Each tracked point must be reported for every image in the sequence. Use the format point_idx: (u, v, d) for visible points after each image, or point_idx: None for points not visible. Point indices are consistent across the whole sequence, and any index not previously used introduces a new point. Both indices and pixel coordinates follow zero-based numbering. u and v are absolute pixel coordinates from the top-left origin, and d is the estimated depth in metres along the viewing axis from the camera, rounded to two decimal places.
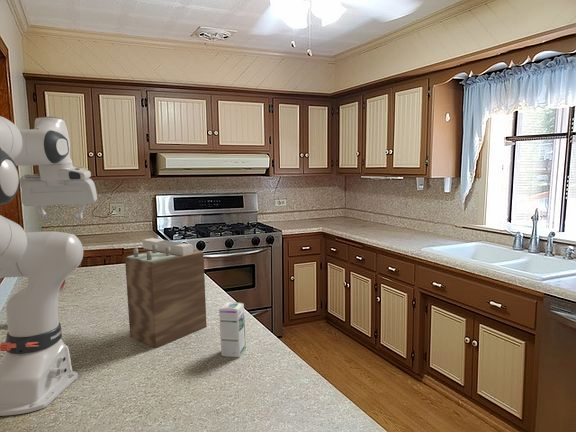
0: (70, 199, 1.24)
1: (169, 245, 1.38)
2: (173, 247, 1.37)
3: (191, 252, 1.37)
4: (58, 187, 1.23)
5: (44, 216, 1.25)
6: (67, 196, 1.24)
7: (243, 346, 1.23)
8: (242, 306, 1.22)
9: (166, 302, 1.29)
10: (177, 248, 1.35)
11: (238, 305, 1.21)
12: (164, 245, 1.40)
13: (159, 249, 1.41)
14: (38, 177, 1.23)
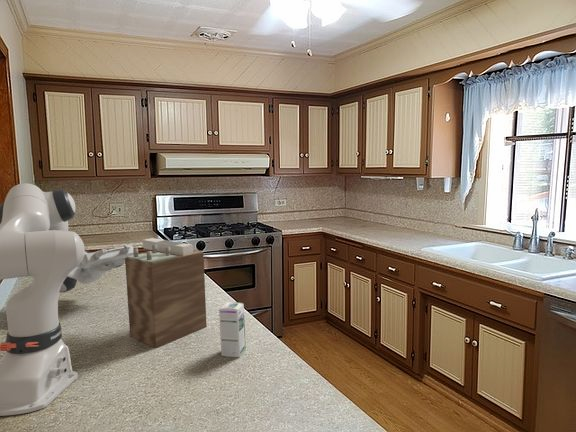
0: None
1: (169, 245, 1.38)
2: (173, 247, 1.37)
3: (191, 252, 1.37)
4: None
5: None
6: None
7: (243, 346, 1.23)
8: (242, 306, 1.22)
9: (166, 302, 1.29)
10: (177, 248, 1.35)
11: (238, 305, 1.21)
12: (164, 245, 1.40)
13: (159, 249, 1.41)
14: None
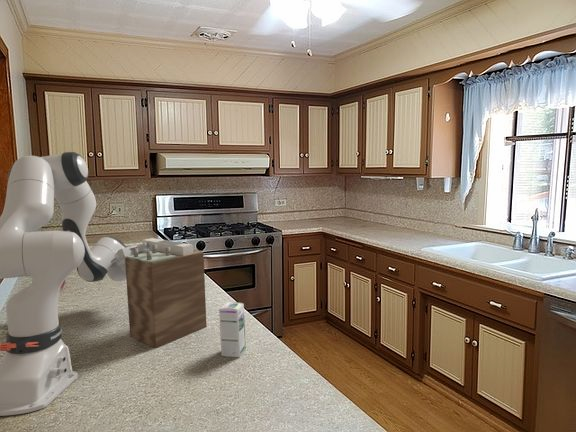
0: None
1: (169, 245, 1.38)
2: (173, 247, 1.37)
3: (191, 252, 1.37)
4: None
5: None
6: None
7: (243, 346, 1.23)
8: (242, 306, 1.22)
9: (166, 302, 1.29)
10: (177, 248, 1.35)
11: (238, 305, 1.21)
12: (164, 245, 1.40)
13: (159, 249, 1.41)
14: None
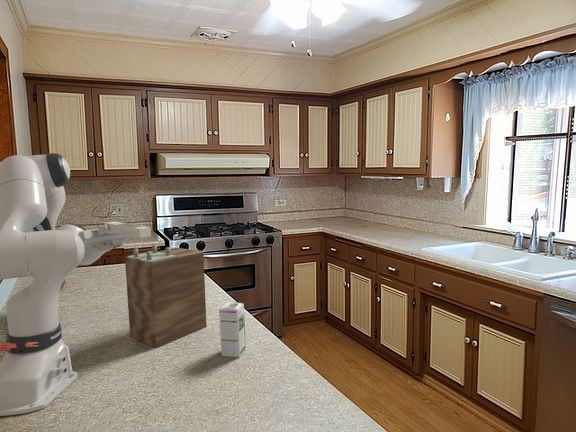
0: None
1: (127, 227, 1.41)
2: (131, 229, 1.40)
3: (149, 235, 1.39)
4: None
5: None
6: None
7: (243, 346, 1.23)
8: (242, 306, 1.22)
9: (166, 302, 1.29)
10: (135, 230, 1.38)
11: (238, 305, 1.21)
12: (123, 228, 1.42)
13: (119, 232, 1.44)
14: None
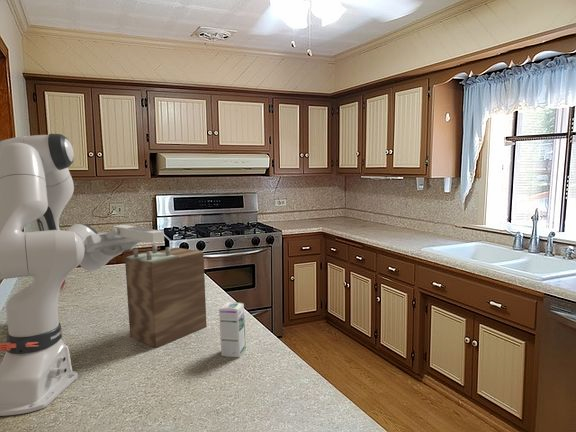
0: None
1: (139, 231, 1.32)
2: (143, 234, 1.30)
3: (162, 239, 1.30)
4: None
5: None
6: None
7: (243, 346, 1.23)
8: (242, 306, 1.22)
9: (166, 302, 1.29)
10: (147, 235, 1.29)
11: (238, 305, 1.21)
12: (134, 231, 1.33)
13: (129, 236, 1.35)
14: None
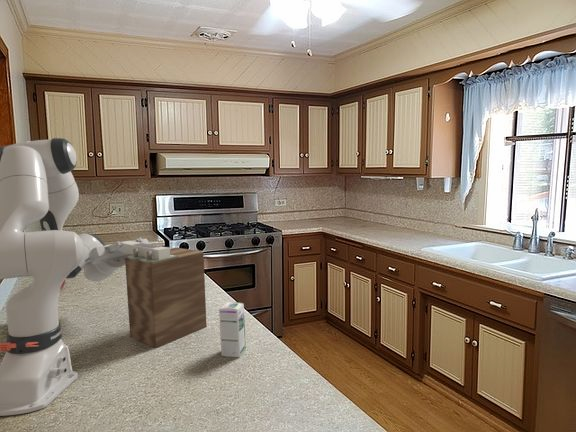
0: None
1: (145, 248, 1.31)
2: (149, 250, 1.30)
3: (168, 256, 1.30)
4: None
5: None
6: None
7: (243, 346, 1.23)
8: (242, 306, 1.22)
9: (166, 302, 1.29)
10: (153, 251, 1.28)
11: (238, 305, 1.21)
12: (140, 248, 1.32)
13: None
14: None
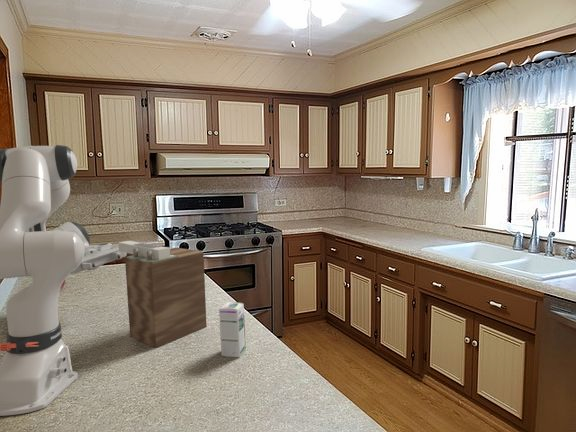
0: (106, 251, 1.50)
1: (145, 248, 1.31)
2: (149, 250, 1.30)
3: (168, 256, 1.30)
4: (94, 254, 1.50)
5: (90, 262, 1.41)
6: (103, 252, 1.50)
7: (243, 346, 1.23)
8: (242, 306, 1.22)
9: (166, 302, 1.29)
10: (153, 251, 1.28)
11: (238, 305, 1.21)
12: (140, 248, 1.32)
13: None
14: None
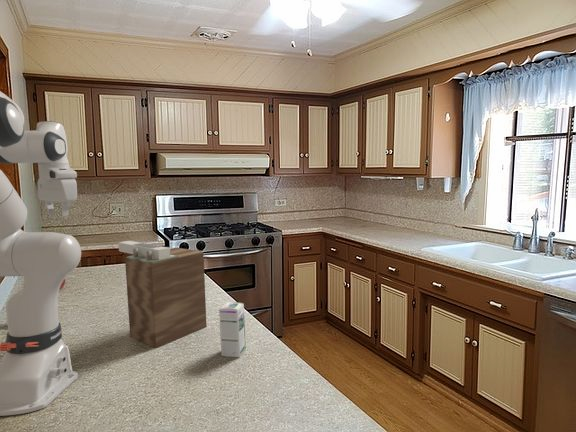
0: (55, 196, 1.34)
1: (145, 248, 1.31)
2: (149, 250, 1.30)
3: (168, 256, 1.30)
4: (51, 185, 1.35)
5: (48, 210, 1.40)
6: (54, 194, 1.34)
7: (243, 346, 1.23)
8: (242, 306, 1.22)
9: (166, 302, 1.29)
10: (153, 251, 1.28)
11: (238, 305, 1.21)
12: (140, 248, 1.32)
13: None
14: None
